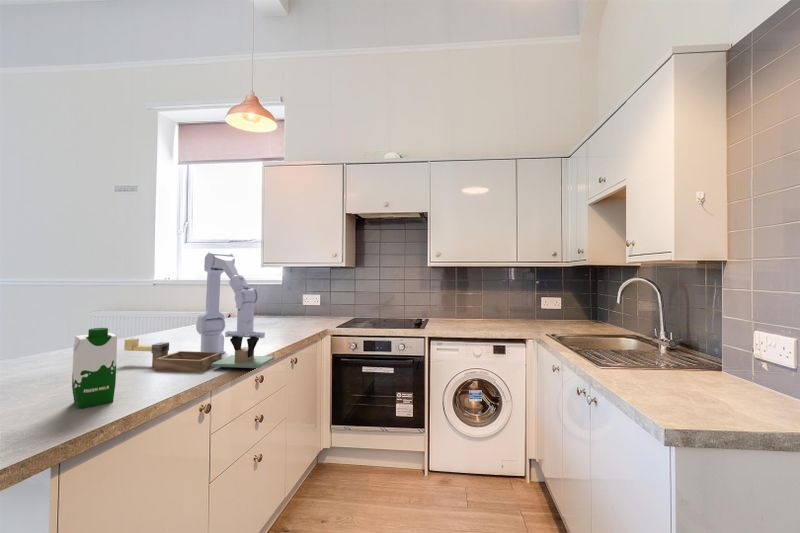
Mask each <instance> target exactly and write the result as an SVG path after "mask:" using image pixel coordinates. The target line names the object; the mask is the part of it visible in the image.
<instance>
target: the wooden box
mask: <svg viewBox="0 0 800 533" xmlns="http://www.w3.org/2000/svg"><path fill="white" fill-rule="evenodd" d="M151 346H152V351H151V354H152V359H151V360H152V361H151V362H152V363H151V366H152V367H154V371H167V372H185V373H186V372H188V373H189V372H190V373H202V372H204V371H206V370H209V369H211V368H213V367H214V366H211V364H212V363H214V362H216V361H219V360H221V359H222V354H221V353H219V352H201V351H191V350H190V351H188V350H187V351H185V350H178V351H176V352H173V353H169V351H170V342H167V341H160V342H157V343H154V344H151ZM161 347H163V350H162V351H161Z"/></svg>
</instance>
